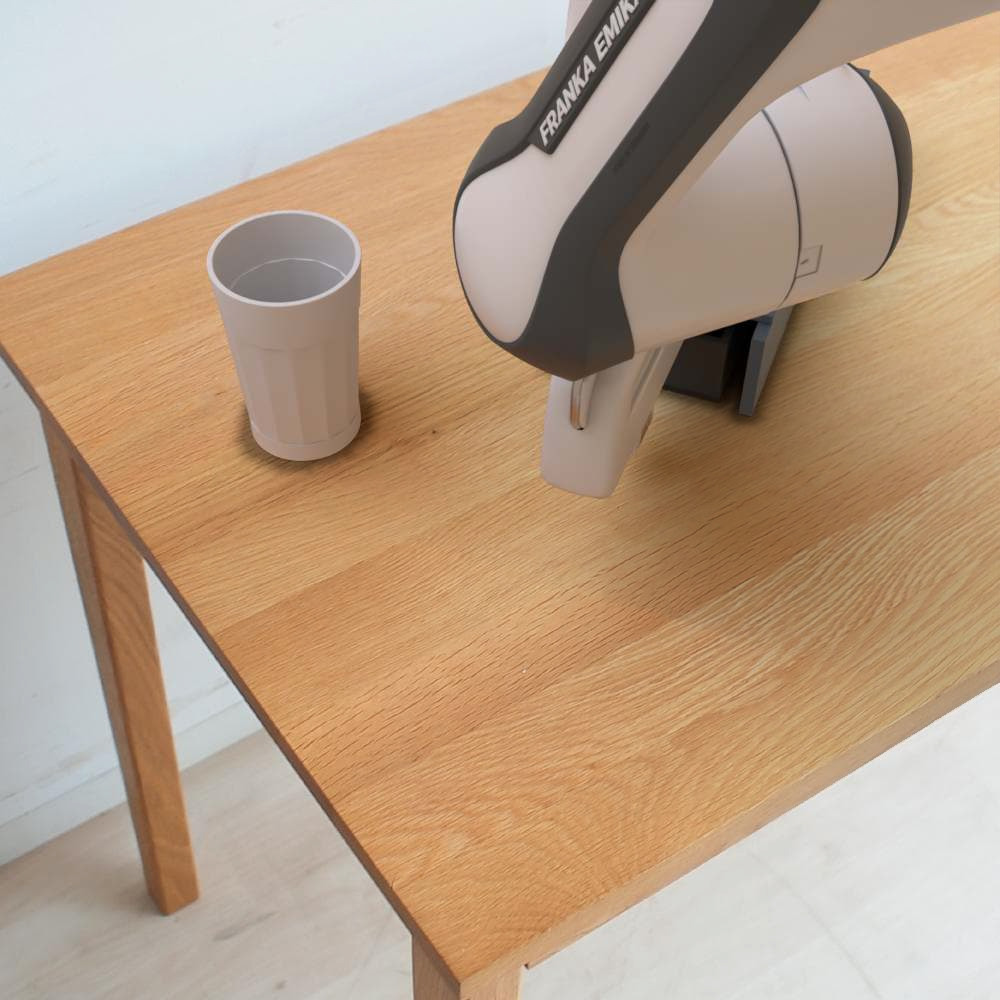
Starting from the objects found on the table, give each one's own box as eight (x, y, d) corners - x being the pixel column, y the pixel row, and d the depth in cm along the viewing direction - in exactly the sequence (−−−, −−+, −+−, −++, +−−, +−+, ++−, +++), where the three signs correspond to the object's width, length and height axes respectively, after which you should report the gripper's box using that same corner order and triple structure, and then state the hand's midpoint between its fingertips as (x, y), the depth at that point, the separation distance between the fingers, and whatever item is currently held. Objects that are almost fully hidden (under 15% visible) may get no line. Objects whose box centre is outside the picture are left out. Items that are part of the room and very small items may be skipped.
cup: (370, 471, 81) (356, 306, 72) (228, 471, 81) (196, 305, 72) (379, 374, 86) (366, 209, 77) (245, 374, 86) (217, 209, 77)
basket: (718, 403, 85) (727, 345, 81) (589, 369, 87) (592, 312, 83) (759, 300, 91) (769, 242, 88) (638, 271, 93) (643, 214, 90)
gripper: (645, 384, 62) (625, 587, 72) (764, 135, 75) (732, 337, 85) (509, 348, 64) (507, 552, 74) (648, 111, 77) (630, 312, 87)
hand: (629, 435), depth 80 cm, fingers closed
